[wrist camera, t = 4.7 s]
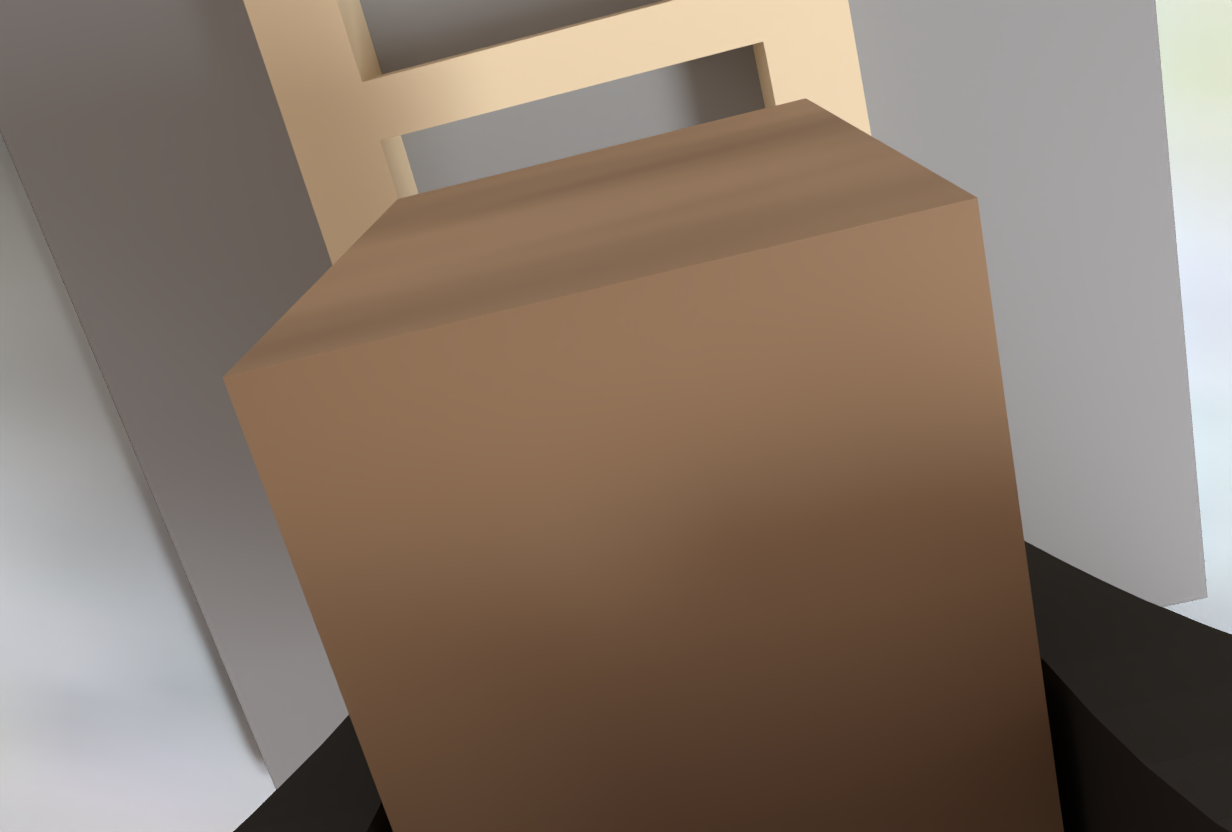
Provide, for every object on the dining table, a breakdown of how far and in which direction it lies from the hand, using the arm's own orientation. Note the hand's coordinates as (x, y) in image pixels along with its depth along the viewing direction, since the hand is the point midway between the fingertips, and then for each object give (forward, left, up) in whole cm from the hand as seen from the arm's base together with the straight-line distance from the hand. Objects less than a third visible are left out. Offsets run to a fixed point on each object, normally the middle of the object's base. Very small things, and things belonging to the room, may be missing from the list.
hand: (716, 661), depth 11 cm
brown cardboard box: (0, 0, -2) cm, 2 cm away
